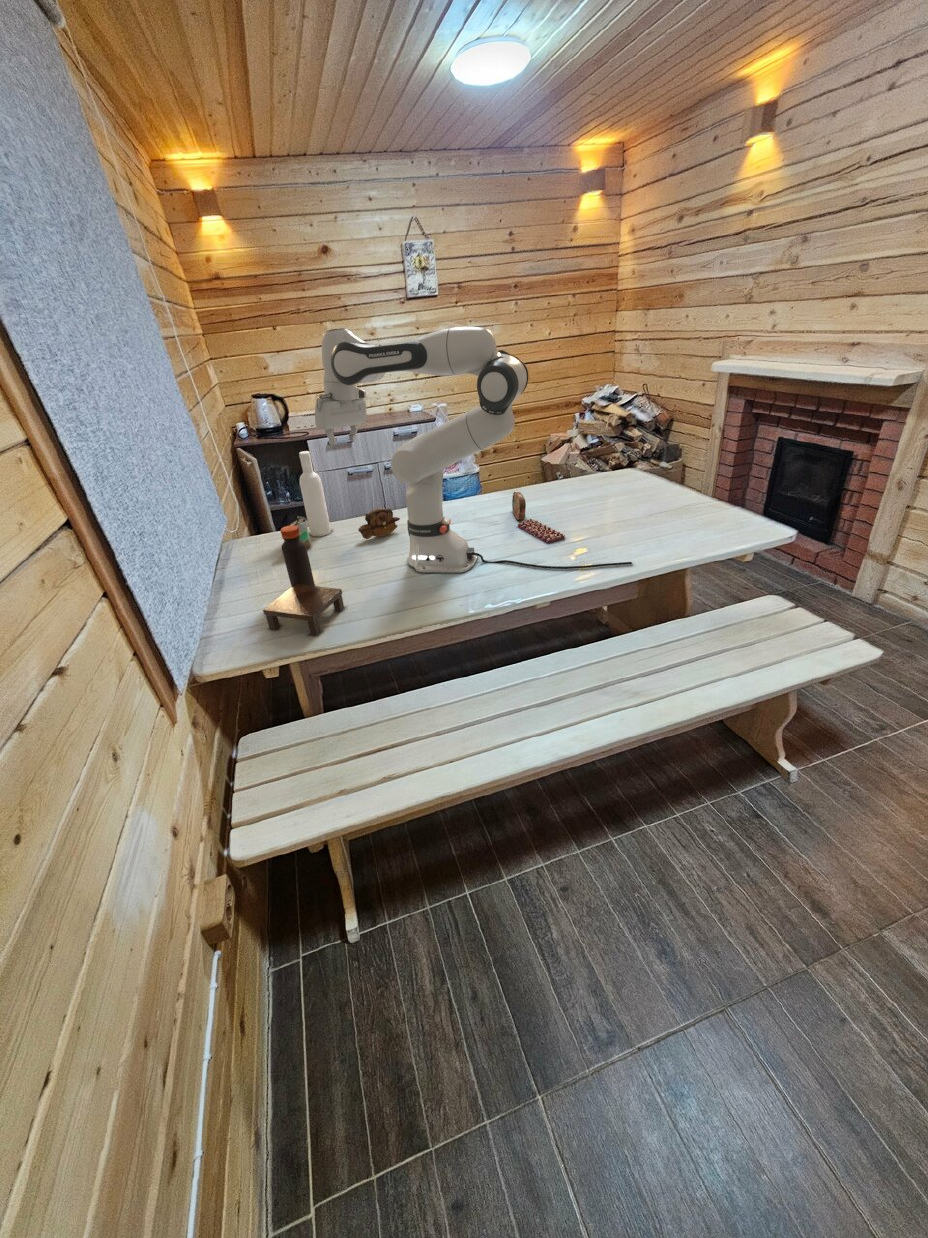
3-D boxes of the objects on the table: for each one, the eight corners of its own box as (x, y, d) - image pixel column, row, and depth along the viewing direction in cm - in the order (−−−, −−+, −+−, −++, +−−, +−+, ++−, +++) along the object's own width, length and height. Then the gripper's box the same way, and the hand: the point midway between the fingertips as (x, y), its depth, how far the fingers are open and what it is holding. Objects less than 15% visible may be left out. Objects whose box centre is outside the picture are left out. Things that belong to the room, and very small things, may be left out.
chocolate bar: (532, 522, 195) (533, 517, 194) (564, 538, 180) (564, 533, 179) (516, 526, 192) (516, 521, 191) (547, 543, 178) (547, 538, 177)
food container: (303, 556, 179) (297, 529, 174) (287, 555, 180) (280, 528, 175) (319, 542, 189) (313, 515, 184) (303, 541, 190) (297, 515, 185)
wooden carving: (366, 544, 185) (361, 517, 180) (359, 541, 188) (354, 514, 183) (403, 531, 194) (400, 505, 189) (396, 528, 197) (393, 502, 192)
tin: (511, 509, 208) (511, 488, 203) (519, 509, 208) (519, 488, 204) (518, 523, 195) (518, 501, 191) (526, 522, 195) (526, 500, 191)
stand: (345, 607, 147) (341, 589, 144) (317, 636, 135) (312, 616, 132) (299, 602, 151) (295, 583, 148) (268, 629, 139) (262, 609, 136)
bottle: (313, 538, 193) (295, 456, 177) (308, 531, 199) (290, 451, 183) (334, 533, 196) (318, 452, 180) (328, 527, 202) (312, 448, 186)
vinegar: (288, 594, 155) (271, 531, 145) (302, 584, 161) (287, 523, 150) (306, 597, 153) (291, 534, 143) (320, 587, 158) (306, 525, 148)
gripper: (325, 395, 140) (329, 448, 147) (369, 391, 157) (370, 439, 163) (307, 393, 143) (311, 445, 149) (352, 390, 159) (354, 437, 166)
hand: (342, 442), depth 156 cm, fingers open, 8 cm apart
